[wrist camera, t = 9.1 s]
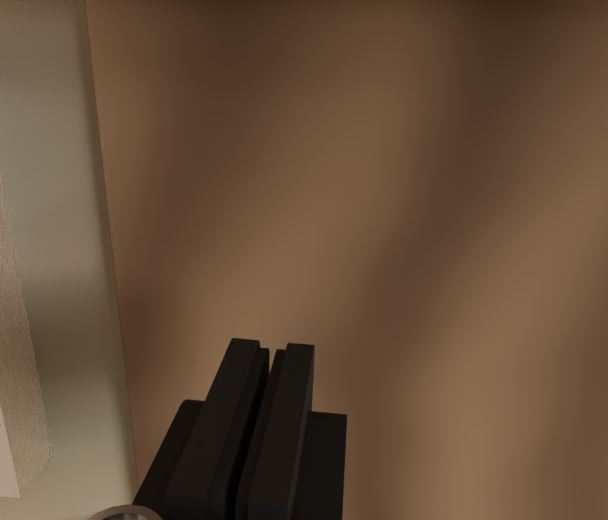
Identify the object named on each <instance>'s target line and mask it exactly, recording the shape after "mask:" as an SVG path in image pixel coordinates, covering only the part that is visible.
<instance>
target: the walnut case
mask: <svg viewBox="0 0 608 520" xmlns="http://www.w3.org/2000/svg"><path fill="white" fill-rule="evenodd" d="M85 8H86V17H87V26H88V35H89V44H90V53H91V62H92V71H93V80H94V89H95V98H96V107H97V116H98V125H99V134H100V143H101V152H102V161H103V170H104V179H105V188H106V197H107V206H108V215H109V224H110V233H111V242H112V251H113V260H114V270H115V279H116V288H117V297H118V306H119V315H120V324H121V333H122V342H123V351H124V360H125V369H126V378H127V387H128V396H129V405H130V414H131V423H132V432H133V441H134V450H135V459H136V468H137V477H138V486H139V489H140V487H141V485H142V483H143V481H144V478H145V476H146V474H147V472H148V470H149V468H150V466H151V464H152V462H153V460H154V458H155V456H156V454H157V452H158V450H159V448H160V446H161V444H162V442H163V440H164V438H165V436H166V433H167V431H168V429H169V427H170V425H171V423H172V421H173V419H174V417H175V415H176V413H177V411H178V409H179V407H180V405H181V404H182V402H183V401H184V400H186V399H190V400H200V401H205V399H206V397H207V394H208V392H209V390H210V387H211V385H212V383H213V380H214V378H215V376H216V373H217V371H218V369H219V366H220V364H221V362H222V360H223V357H224V355H225V353H226V350H227V348H228V346H229V343H230V341H231V339H232V338H240V339H251V340H259V341H260V347H261V348H269V351H270V371H271V367H272V363H273V360H274V356H275V353H276V350H277V349H284V350H286V347H287V344H288V343H298V344H310V345H315V356H314V378H313V399H312V411H315V412H326V413H336V414H347V432H346V453H345V473H344V494H343V515H342V520H608V0H85ZM269 374H270V372H269Z"/></svg>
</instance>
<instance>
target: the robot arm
mask: <svg viewBox="0 0 608 520" xmlns="http://www.w3.org/2000/svg"><path fill="white" fill-rule="evenodd" d="M314 356H315V345H310V344H298V343H288V344H287V347H286V350H284V349H277V350H276V353H275V356H274V360H273V363H272V367H271V371H270V351H269V348H261V347H260V341H259V340H251V339H240V338H232V339H231V341H230V343H229V346H228V348H227V350H226V353H225V355H224V357H223V360H222V362H221V364H220V366H219V369H218V371H217V373H216V376H215V378H214V380H213V383H212V385H211V387H210V390H209V392H208V394H207V397H206V399H205V401H200V400H190V399H186V400H184V401H183V402H182V404H181V405H180V407H179V409H178V411H177V413H176V415H175V417H174V419H173V421H172V423H171V425H170V427H169V429H168V431H167V433H166V436H165V438H164V440H163V442H162V444H161V446H160V448H159V450H158V452H157V454H156V456H155V458H154V460H153V462H152V464H151V466H150V468H149V470H148V472H147V474H146V476H145V478H144V481H143V483H142V485H141V487H140V489H139V491H138V493H137V495H136V497H135V499H134V501H133V503H132V505H122V506H115V507H111V508H108V509H106V510H103V511H101V512H98V513H96V514H95V515H93V516H92V517H90V518H89V519H87V520H342V515H343V494H344V473H345V453H346V432H347V414H336V413H326V412H315V411H312V399H313V378H314ZM269 372H270V374H269Z"/></svg>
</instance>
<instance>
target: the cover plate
mask: <svg viewBox="0 0 608 520" xmlns="http://www.w3.org/2000/svg"><path fill="white" fill-rule="evenodd" d="M52 454H53V451H52V446H51V440H50V435H49V429H48V424H47V419H46V413H45V408H44V402H43V397H42V391H41V386H40V381H39V375H38V370H37V364H36V359H35V354H34V348H33V343H32V337H31V332H30V327H29V321H28V316H27V310H26V305H25V300H24V294H23V289H22V283H21V278H20V272H19V267H18V262H17V256H16V251H15V245H14V240H13V235H12V229H11V224H10V218H9V213H8V208H7V202H6V197H5V191H4V186H3V180H2V175H1V170H0V496H2V497H13V498H21V497H22V496H23V495H24V493H25V492H26V490H27V489H28V488H29V486H30V485H31V484H32V482H33V481H34V479H35V478H36V477H37V475H38V474H39V472H40V471H41V470H42V468H43V467H44V465H45V464H46V463H47V461H48V460H49V458H50V457H51V456H52Z"/></svg>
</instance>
